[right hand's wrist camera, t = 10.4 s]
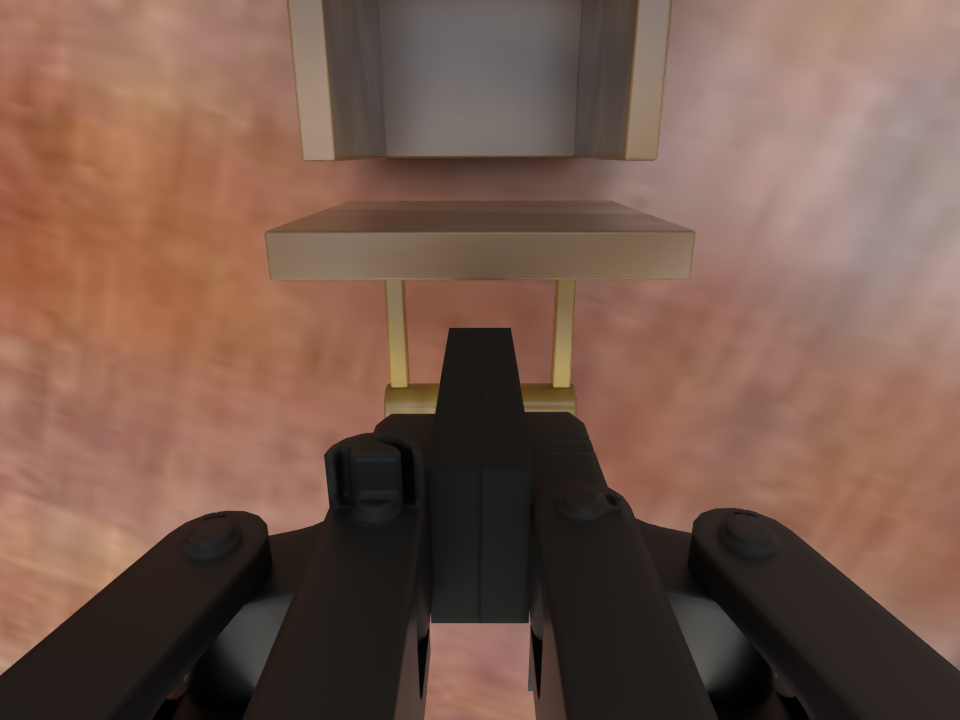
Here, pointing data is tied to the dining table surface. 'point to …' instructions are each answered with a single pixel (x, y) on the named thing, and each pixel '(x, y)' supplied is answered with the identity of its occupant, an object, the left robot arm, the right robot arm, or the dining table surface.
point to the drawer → (479, 151)
